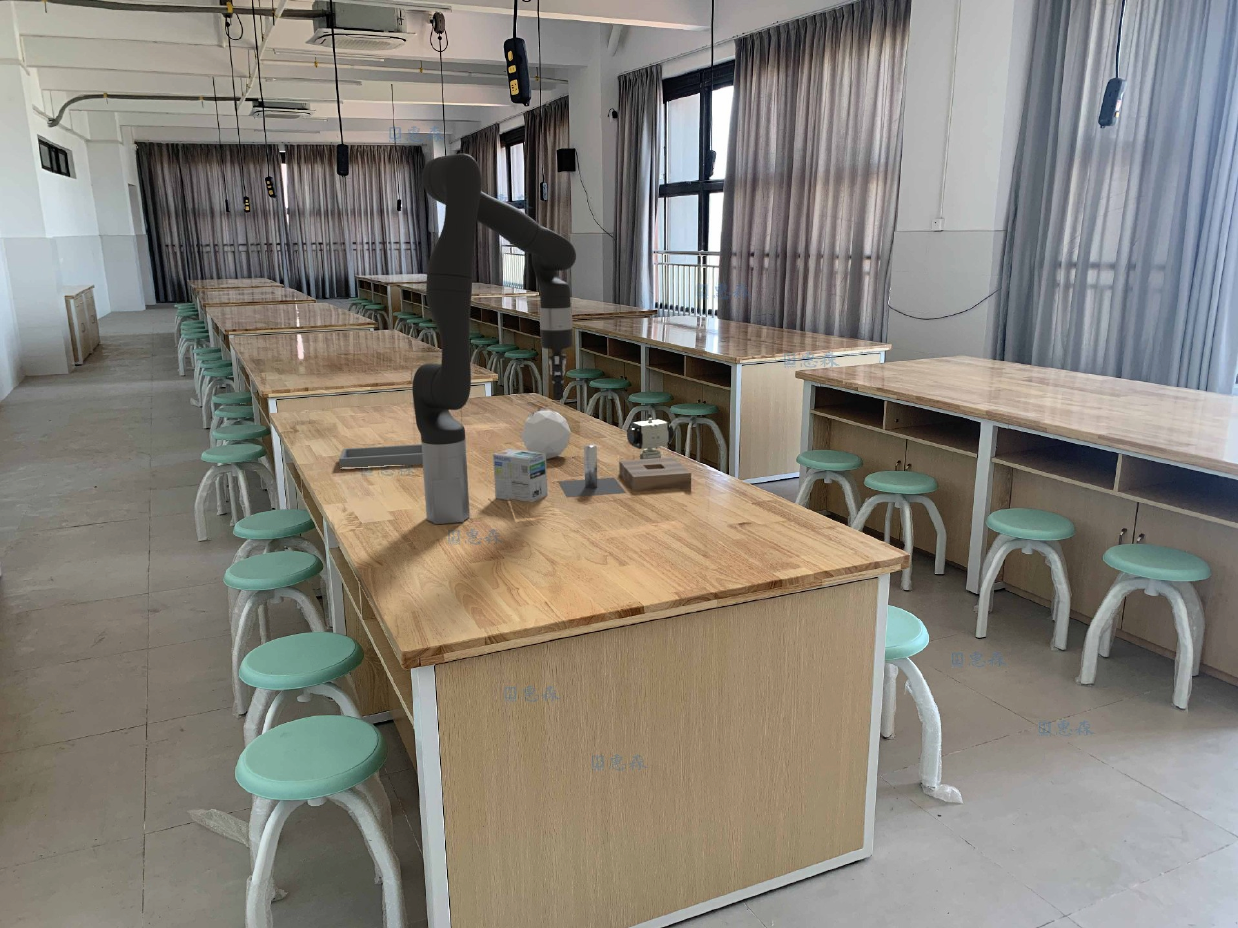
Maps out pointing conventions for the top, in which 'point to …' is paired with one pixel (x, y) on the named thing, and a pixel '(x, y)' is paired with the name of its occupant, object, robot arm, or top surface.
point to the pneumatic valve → (650, 436)
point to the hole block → (655, 474)
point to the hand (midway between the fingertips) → (558, 395)
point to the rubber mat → (578, 489)
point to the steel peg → (590, 466)
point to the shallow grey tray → (381, 456)
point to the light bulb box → (520, 475)
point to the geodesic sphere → (546, 433)
